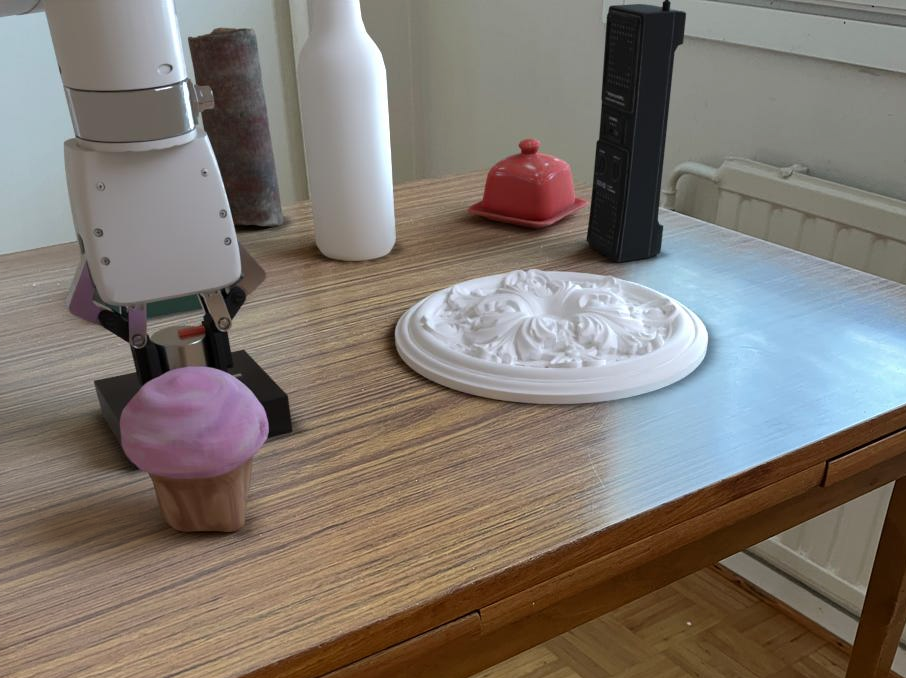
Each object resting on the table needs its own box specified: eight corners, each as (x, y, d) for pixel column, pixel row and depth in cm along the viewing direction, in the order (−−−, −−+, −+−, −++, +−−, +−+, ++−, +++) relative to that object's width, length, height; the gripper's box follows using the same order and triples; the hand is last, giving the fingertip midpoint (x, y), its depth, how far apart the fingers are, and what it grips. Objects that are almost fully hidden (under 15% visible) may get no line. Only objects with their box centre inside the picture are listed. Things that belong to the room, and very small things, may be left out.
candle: (239, 238, 112) (207, 34, 99) (207, 224, 116) (173, 27, 104) (295, 225, 116) (271, 27, 103) (262, 212, 120) (236, 20, 108)
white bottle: (335, 267, 104) (301, -84, 85) (304, 245, 110) (266, -87, 91) (409, 254, 107) (392, -87, 88) (376, 233, 113) (353, -90, 94)
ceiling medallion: (508, 266, 104) (508, 235, 102) (757, 321, 91) (763, 287, 89) (330, 352, 86) (326, 316, 84) (608, 436, 73) (611, 396, 71)
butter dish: (545, 236, 112) (548, 155, 106) (462, 221, 117) (460, 143, 111) (593, 212, 119) (597, 135, 114) (512, 198, 124) (513, 124, 119)
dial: (169, 402, 71) (157, 346, 69) (155, 382, 74) (142, 327, 72) (223, 391, 73) (212, 335, 70) (206, 371, 76) (196, 317, 73)
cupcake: (129, 554, 61) (88, 406, 55) (163, 484, 68) (130, 346, 62) (270, 553, 61) (245, 405, 55) (290, 484, 68) (270, 345, 62)
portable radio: (578, 243, 110) (593, -25, 94) (625, 236, 112) (647, -28, 96) (613, 264, 104) (635, -18, 88) (662, 256, 106) (691, -21, 90)
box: (110, 325, 91) (100, 282, 89) (87, 293, 98) (77, 252, 96) (234, 302, 96) (227, 260, 94) (204, 273, 103) (197, 233, 100)
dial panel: (134, 470, 70) (124, 430, 68) (102, 416, 77) (92, 378, 75) (293, 432, 74) (287, 392, 72) (249, 384, 81) (243, 347, 79)
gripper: (241, 91, 68) (277, 346, 79) (-16, 118, 61) (63, 391, 73) (278, 110, 63) (311, 380, 74) (2, 141, 56) (85, 431, 68)
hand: (188, 383), depth 73 cm, fingers closed on dial, 4 cm apart
